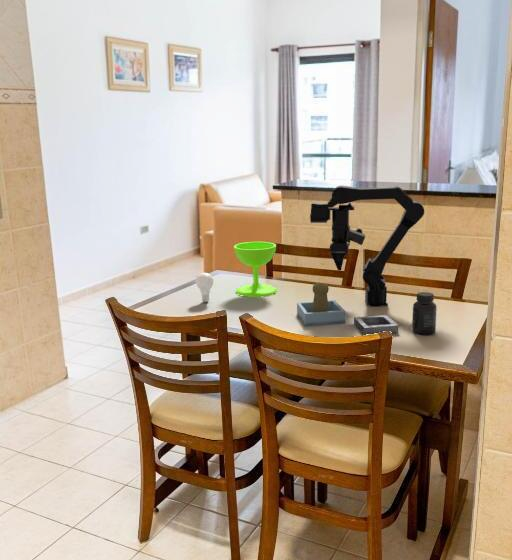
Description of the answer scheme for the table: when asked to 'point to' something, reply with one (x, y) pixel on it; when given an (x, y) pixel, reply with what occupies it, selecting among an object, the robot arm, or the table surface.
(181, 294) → the table surface
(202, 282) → the lightbulb
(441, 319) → the table surface
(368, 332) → the metal collar
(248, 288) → the wineglass
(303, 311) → the plastic tray
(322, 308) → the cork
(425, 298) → the supplement bottle
